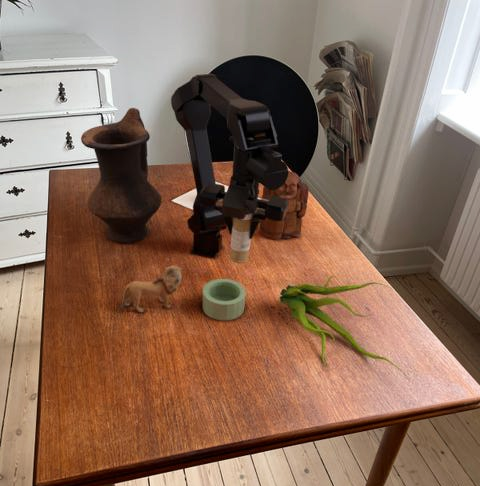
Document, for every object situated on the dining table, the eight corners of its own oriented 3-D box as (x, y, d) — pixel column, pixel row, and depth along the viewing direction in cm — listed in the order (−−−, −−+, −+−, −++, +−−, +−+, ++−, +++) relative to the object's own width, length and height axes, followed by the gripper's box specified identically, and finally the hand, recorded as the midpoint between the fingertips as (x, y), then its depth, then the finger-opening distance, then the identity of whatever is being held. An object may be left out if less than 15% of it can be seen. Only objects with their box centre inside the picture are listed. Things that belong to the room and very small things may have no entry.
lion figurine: (177, 291, 115) (177, 258, 110) (186, 304, 112) (186, 271, 106) (115, 305, 110) (111, 272, 104) (121, 320, 106) (117, 286, 101)
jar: (196, 314, 110) (196, 298, 107) (211, 290, 117) (211, 274, 114) (236, 324, 108) (237, 308, 105) (249, 300, 115) (250, 284, 112)
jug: (145, 259, 125) (137, 139, 106) (79, 244, 128) (59, 126, 109) (176, 221, 141) (174, 111, 122) (116, 208, 144) (105, 100, 125)
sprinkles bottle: (245, 252, 119) (251, 201, 110) (250, 263, 115) (257, 211, 106) (226, 253, 117) (231, 202, 109) (231, 265, 114) (236, 212, 105)
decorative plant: (320, 398, 93) (334, 341, 84) (275, 301, 115) (283, 247, 105) (406, 386, 97) (430, 329, 87) (347, 294, 119) (361, 241, 109)
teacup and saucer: (207, 191, 156) (207, 179, 153) (227, 199, 153) (228, 187, 150) (189, 201, 150) (189, 188, 148) (209, 209, 147) (210, 196, 144)
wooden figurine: (262, 241, 135) (269, 178, 124) (257, 229, 140) (263, 167, 129) (304, 239, 138) (314, 177, 126) (297, 227, 142) (307, 167, 131)
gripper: (189, 175, 98) (188, 244, 108) (280, 195, 94) (271, 263, 104) (209, 155, 106) (207, 221, 116) (294, 172, 103) (284, 238, 113)
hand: (241, 235), depth 112 cm, fingers closed on sprinkles bottle, 4 cm apart
